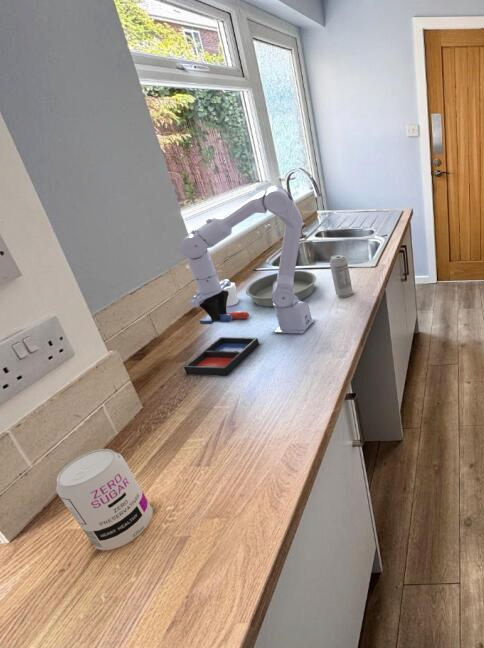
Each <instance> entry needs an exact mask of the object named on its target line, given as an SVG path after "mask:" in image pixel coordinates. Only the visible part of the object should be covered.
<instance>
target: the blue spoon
mask: <svg viewBox="0 0 484 648" xmlns="http://www.w3.org/2000/svg"><path fill="white" fill-rule="evenodd" d="M232 321H233V319H232V316H231V315H229V314H220V320H219V321H213V320H212V319H211V317H210V316H209V315H208V314H207V315H205V316H204V317H202V318H201V319H199V324H200V325H212V324H214V323H231V322H232Z"/></svg>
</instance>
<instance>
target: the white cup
mask: <svg viewBox="0 0 484 648" xmlns="http://www.w3.org/2000/svg"><path fill="white" fill-rule="evenodd" d="M230 283H231V286H229V287H226V288H224V289H223V291H228V293H229V295H228V298H227V306H226V308H228V307H232V306H235V305H237V304H238V303H239V296H238V292H237V291H238V290H237V286H236V282H232V281H230Z"/></svg>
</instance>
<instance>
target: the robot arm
mask: <svg viewBox="0 0 484 648" xmlns="http://www.w3.org/2000/svg"><path fill="white" fill-rule="evenodd" d="M267 212H270V213H271V214H273V215H274V216H276V217H278V218H279V219H280V220H281V221H282V222H283V223H284V230H283V238H282V245H281V252H280V258H279V265H278V271H277V273H278V275H277V279H276V280H275V282H274V283H273V286H272V288H273V294H272V301H273V305H274V306H273V308H274V311H275V315H276V319H277V323H278V327H277V328H275V330H274V333H275V334H304V333H305V332H306V331H307V329H308V328H309V327H310V326H311V325H312V324H313V323H314V322H315V320H314V319H313V318H312V314H311V313H312V312H311V310H310V305H309V304H308V303H307V302H306V301H301V300H298V297H296V296H295V295H294V284H293V283H294V273H295V271H296V267H297V261H298V255H299V249H300V248H299V247H300V242H301V236H302V229H303V224H304V219H303V216H302V214H301V211H300V210H299V208H298V205H297V203H296V202H295V200H294V198H293V196H292V195H291V194H290V192H288V191H287V190H286V189H285V188H284V187H282V186H280V185H273V186H270V187H268V188H267V189H266V191H265V190H262V191H261V192H259V193H257V194H255V195H254V196H252V197H250V198H249V199H248V200H246V201H244V203H242V204H241V205H240V206H238V207H237V208H236V209H234V210H232V211H231V212H229V214H227V215H225V216H224V217H218V216H217V217H213V218H211V217H209V218H208V219H206V221H205V222H206V223H205V224H202V226H200V227H199V228H197V229H195V228H194V229H192V230H191V233H189V234H187V235H186V236H185V237H184V238H183V240H182V241H181V242H180V245H179V251H180V253H181V254H182V255H183V256H184V257H185V258H186V261H187V264H188V267H189V270H190V273H191V275H192V276H191V277H192V278H193V281H194V284H195V286H196V291H195V293H196V294H195V295H194V296H193V297H192V298H191V299H190V300H188V304H189V306H190V308H199V307H200V308H201V309H203V311H205V312H206V314H207V315H209V316H210V317H211V319H212V320H213V321H219V320H220V314H227V313H228V312H227V311H228V309H227V308H228V306H227V298H228V295H229V293H228V291H223V289H224V288H226V287H229V286H231V283H230V282H231V280H230V279H222V280H221V281H220V279H219V277H218V274H217V271H216V268H215V265H214V262H213V259H212V257H211V254H210V252H209V248H213V247H215V246H216V245H217V244H219V243H221V242H222V241H223V240H225V239H226V238H228V237H229V236H231V235H232V233H233V231H232V229H233V228H234V227H235V226H237V225H238V224H240V223H242V222H243V221H245V220H246V219H248V218H250V217H252V216H253V215H254V214H267ZM226 306H227V307H226Z"/></svg>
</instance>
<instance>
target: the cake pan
mask: <svg viewBox="0 0 484 648" xmlns="http://www.w3.org/2000/svg"><path fill="white" fill-rule="evenodd" d="M277 275H278V272H276V273H272V274H269V275H265V276H262V277H260V278H258V279H256V280H255V281H252V282H251V283H249V284H248V286H247V287H246V288H245V293H246V295H247V296H248V297H250V298H251V299H252V300H253V302H254V303H255V304H256V305H258V306H261V307H274V305H273V301H272V294H273V288H272V286H273V283H274V282H275V280H276V279H277ZM316 281H317V277H316V275H315V274H314V273H313V272H310V271H305V270H295V273H294V283H293V284H294V295H295V296H296V297H298V300H299V301H301V300H303V299H305V298H308V297H309V296H310V295H311V294H312V293H313V292H314V285H315V283H316Z"/></svg>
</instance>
